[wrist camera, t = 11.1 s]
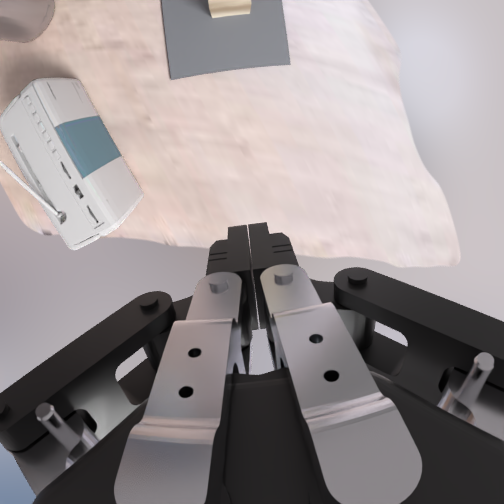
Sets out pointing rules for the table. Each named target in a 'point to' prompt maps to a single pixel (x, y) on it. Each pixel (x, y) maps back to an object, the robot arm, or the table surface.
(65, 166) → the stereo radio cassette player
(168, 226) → the table surface
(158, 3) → the table surface
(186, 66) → the rubber mat
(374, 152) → the table surface
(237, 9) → the birch block
